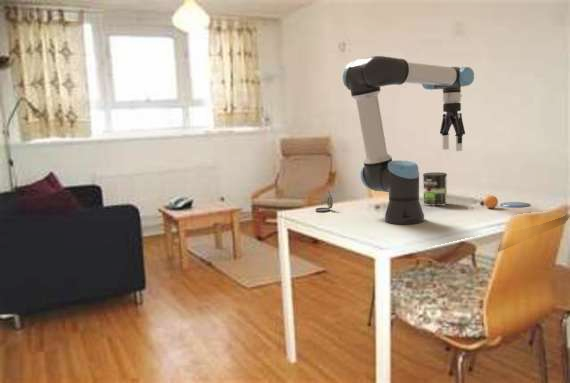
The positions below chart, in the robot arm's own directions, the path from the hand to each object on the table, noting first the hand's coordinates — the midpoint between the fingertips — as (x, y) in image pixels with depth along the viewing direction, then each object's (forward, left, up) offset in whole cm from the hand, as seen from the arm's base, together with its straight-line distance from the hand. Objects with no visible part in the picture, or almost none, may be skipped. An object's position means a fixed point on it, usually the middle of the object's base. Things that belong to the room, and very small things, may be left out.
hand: (451, 150), depth 221 cm
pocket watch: (-46, +36, -24) cm, 64 cm away
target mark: (+9, -25, -24) cm, 36 cm away
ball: (-3, -20, -21) cm, 30 cm away
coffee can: (-7, +4, -24) cm, 26 cm away
